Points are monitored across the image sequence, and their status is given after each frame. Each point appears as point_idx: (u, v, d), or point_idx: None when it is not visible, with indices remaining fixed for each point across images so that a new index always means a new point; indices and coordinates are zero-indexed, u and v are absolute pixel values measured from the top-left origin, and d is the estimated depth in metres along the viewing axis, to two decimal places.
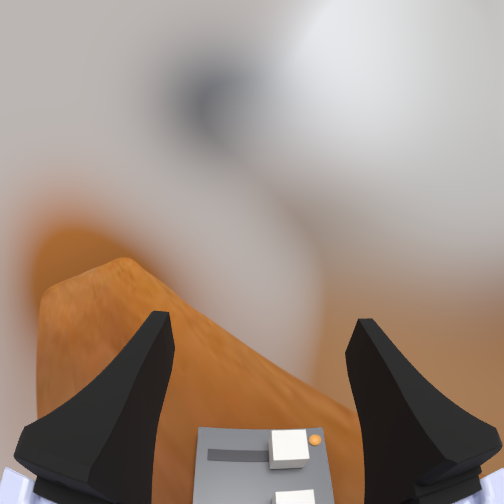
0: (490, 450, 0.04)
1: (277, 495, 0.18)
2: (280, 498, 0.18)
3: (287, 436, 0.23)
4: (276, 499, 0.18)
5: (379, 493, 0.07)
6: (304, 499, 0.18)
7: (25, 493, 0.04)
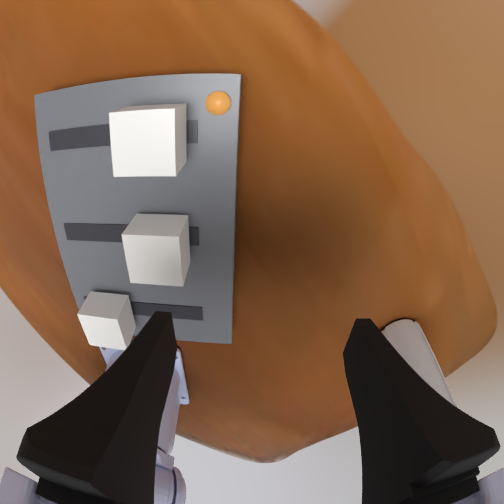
0: (488, 451, 0.04)
1: (124, 240, 0.15)
2: (129, 245, 0.15)
3: (137, 125, 0.12)
4: (124, 245, 0.15)
5: (376, 494, 0.07)
6: (164, 251, 0.15)
7: (25, 493, 0.04)
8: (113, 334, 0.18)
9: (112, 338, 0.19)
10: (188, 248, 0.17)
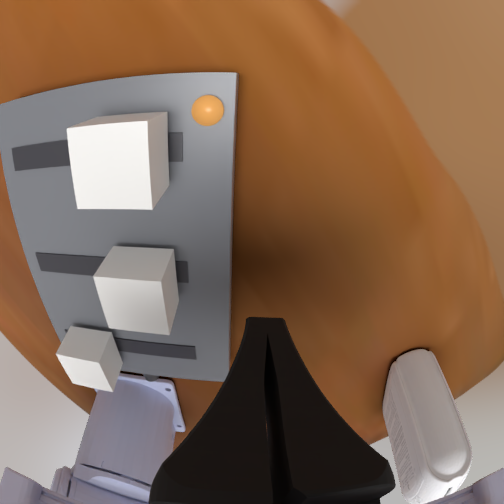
0: (364, 489, 0.04)
1: (97, 283, 0.12)
2: (103, 289, 0.12)
3: (100, 144, 0.09)
4: (98, 288, 0.12)
5: None
6: (144, 297, 0.12)
7: (25, 493, 0.04)
8: (97, 376, 0.15)
9: (96, 379, 0.16)
10: (175, 287, 0.14)
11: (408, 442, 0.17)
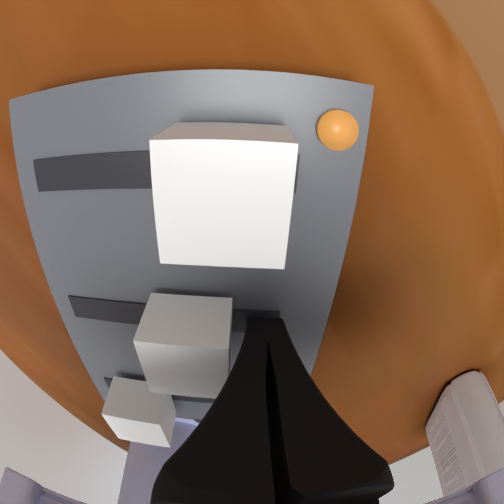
0: (363, 489, 0.04)
1: (138, 348, 0.09)
2: (146, 355, 0.09)
3: (213, 171, 0.06)
4: (139, 353, 0.09)
5: None
6: (203, 365, 0.09)
7: (25, 493, 0.04)
8: (153, 435, 0.13)
9: (151, 437, 0.13)
10: (231, 340, 0.12)
11: (463, 462, 0.14)
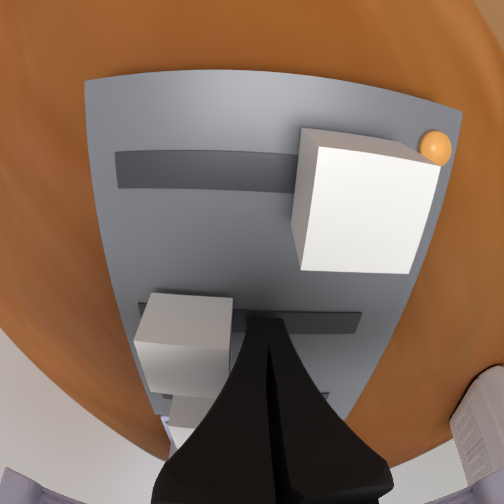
0: (362, 489, 0.04)
1: (139, 348, 0.09)
2: (147, 354, 0.09)
3: (373, 183, 0.06)
4: (139, 353, 0.09)
5: None
6: (204, 365, 0.09)
7: (25, 493, 0.04)
8: None
9: None
10: (231, 340, 0.12)
11: (491, 451, 0.14)
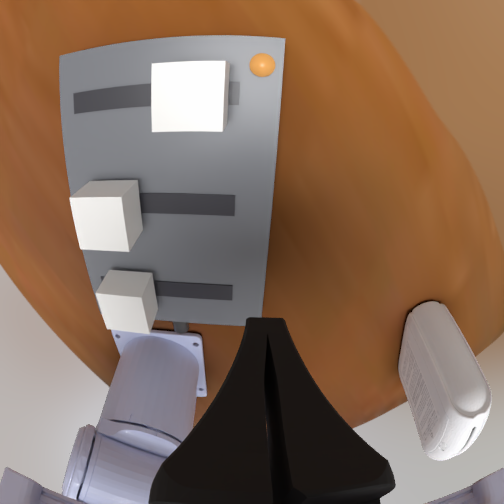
0: (365, 489, 0.04)
1: (72, 204, 0.14)
2: (76, 209, 0.14)
3: (182, 76, 0.11)
4: (73, 209, 0.14)
5: None
6: (108, 213, 0.14)
7: (25, 493, 0.04)
8: (135, 315, 0.17)
9: (134, 320, 0.18)
10: (138, 214, 0.16)
11: (429, 386, 0.19)
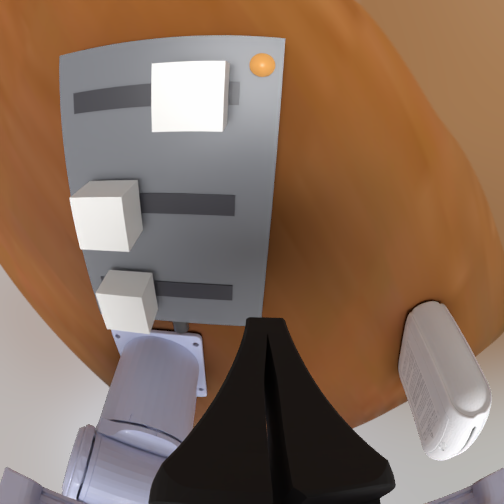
0: (365, 489, 0.04)
1: (72, 204, 0.14)
2: (76, 209, 0.14)
3: (182, 76, 0.11)
4: (73, 209, 0.14)
5: None
6: (108, 213, 0.14)
7: (25, 493, 0.04)
8: (135, 315, 0.17)
9: (134, 320, 0.18)
10: (138, 214, 0.16)
11: (429, 386, 0.19)
